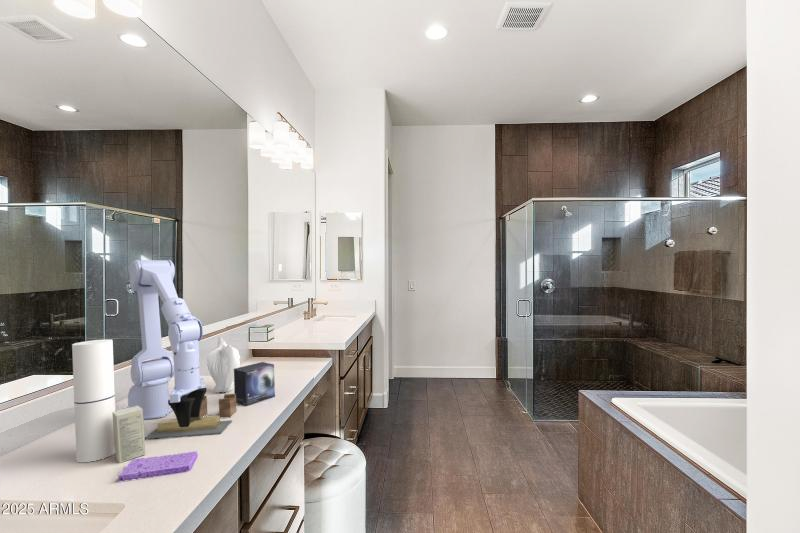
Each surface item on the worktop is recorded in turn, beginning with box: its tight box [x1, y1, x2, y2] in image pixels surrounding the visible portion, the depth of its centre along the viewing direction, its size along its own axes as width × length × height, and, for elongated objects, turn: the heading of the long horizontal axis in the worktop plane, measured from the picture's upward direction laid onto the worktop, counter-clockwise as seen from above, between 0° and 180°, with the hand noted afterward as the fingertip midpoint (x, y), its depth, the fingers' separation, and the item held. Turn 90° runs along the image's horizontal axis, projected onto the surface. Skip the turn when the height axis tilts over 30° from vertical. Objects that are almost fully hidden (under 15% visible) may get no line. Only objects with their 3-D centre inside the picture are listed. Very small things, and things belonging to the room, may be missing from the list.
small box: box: [233, 361, 276, 407], centre depth 124 cm, size 11×6×10 cm, turn 145°
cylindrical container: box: [71, 338, 116, 463], centre depth 89 cm, size 7×7×25 cm
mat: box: [144, 420, 233, 441], centre depth 101 cm, size 18×8×1 cm, turn 94°
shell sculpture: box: [206, 336, 241, 394], centre depth 135 cm, size 8×8×18 cm
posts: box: [199, 393, 238, 419], centre depth 111 cm, size 11×5×5 cm, turn 94°
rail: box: [157, 414, 221, 433], centre depth 101 cm, size 14×3×2 cm, turn 94°
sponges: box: [117, 450, 199, 482], centre depth 81 cm, size 7×13×2 cm, turn 104°
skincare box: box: [112, 406, 147, 464], centre depth 88 cm, size 5×4×10 cm
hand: (189, 422), depth 101 cm, fingers open, 5 cm apart
